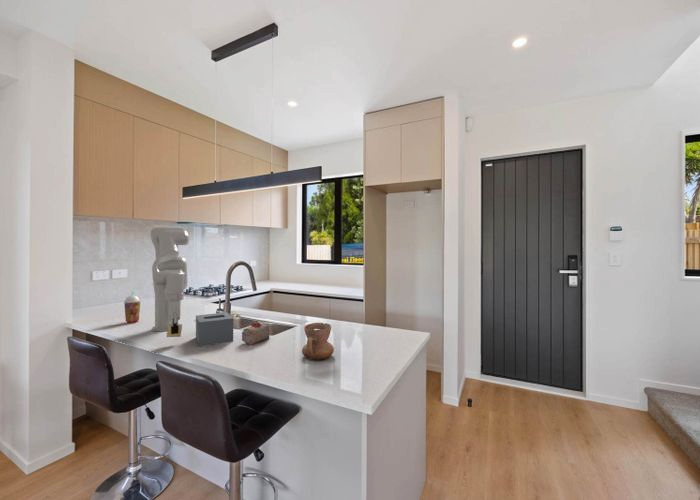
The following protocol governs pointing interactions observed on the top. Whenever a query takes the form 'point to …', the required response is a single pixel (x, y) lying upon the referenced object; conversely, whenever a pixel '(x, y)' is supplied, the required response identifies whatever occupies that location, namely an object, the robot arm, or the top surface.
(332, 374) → the top surface
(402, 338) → the top surface
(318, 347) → the ceramic jug
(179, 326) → the yellow square slab
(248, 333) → the food item
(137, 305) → the smoothie
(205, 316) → the money box
